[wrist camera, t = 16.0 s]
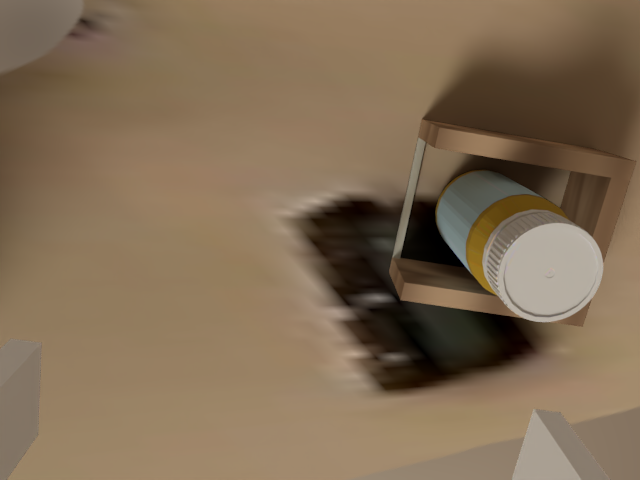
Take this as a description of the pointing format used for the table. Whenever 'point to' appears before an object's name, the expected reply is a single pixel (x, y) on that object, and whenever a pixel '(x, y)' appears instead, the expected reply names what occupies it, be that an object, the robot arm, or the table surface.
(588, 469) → the robot arm
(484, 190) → the bottle
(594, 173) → the u rest
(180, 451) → the table surface
